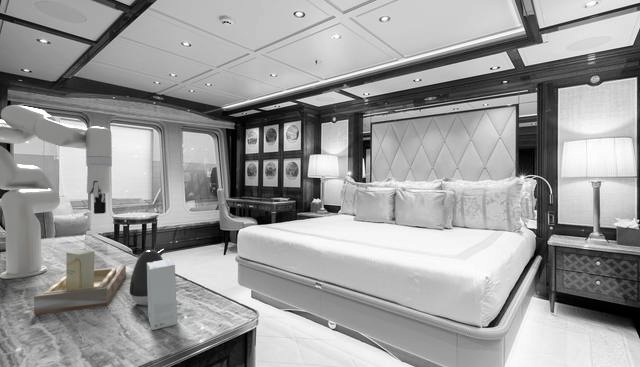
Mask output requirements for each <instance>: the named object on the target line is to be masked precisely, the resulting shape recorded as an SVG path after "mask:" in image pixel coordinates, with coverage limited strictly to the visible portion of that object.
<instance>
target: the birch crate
mask: <svg viewBox="0 0 640 367" xmlns="http://www.w3.org/2000/svg"><path fill="white" fill-rule="evenodd" d="M116 273H117V267H112V268H101V269H100V268H99V269H94V287H88V288H79V289H70V290H66V276H65V275H63V276H62V277H63V278H62V277H61V278H62V279H61V278H60V279H61V280H60V279H59V280H57V281H58V282H57V281H56V282H57V283H56V282H55V283H56V284H55V283H54V284H55V285H54V284H53V286H52V285H51V286H52V287H51V286H50V287H51V288H50V287H49V288H50V289H49V288H48V290H47V289H46V290H47V291H46V290H45V291H46V292H45V291H44V292H45V293H44V292H43V293H44V294H51V293H59V292H68V291H77V290H86V289H94V288H103V287H107V285H108V284H109V283H110V281H111V280H112V279H113V277H114V276H115V274H116Z"/></svg>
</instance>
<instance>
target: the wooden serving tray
mask: <svg viewBox="0 0 640 367" xmlns="http://www.w3.org/2000/svg"><path fill="white" fill-rule="evenodd" d="M126 268H127V267H126V264H122V265H121V266H120V268H119V269H118V271H116V274H115V276H114V277H113V279H112V280H111V281H110V283H109V284H108V285H107V287H103V288H94V289H86V290H77V291H68V292H59V293H51V294H44V293H45V292H46V291H47V290H48V289H50V288H51V287H52V286H53V285H55V284H56V283H57V282H58V281H59V280H61V279H62V278H63V277H64V276H66V274H65V275H64V276H62V277H61V278H60V279H59V280H57V281H56V282H55V283H54V284H53V285H51V286H50V287H49V288H48V289H46V290H45V291H44V292H43V293H40V294H36V295H34V297H33V308H34V309H33V313H34V316H40V315H48V314H55V313H56V314H57V313H63V312H71V311H78V310H84V309H93V308H94V309H95V308H100V307H107V306H108V305H109V303H110V302H111V300H112V299H113V297H114V296H115V293H116V292H117V290H118V288H119V287H120V286H121V284H122V283H123V281H124V279H125V278H126V276H127V274H126V271H127V269H126ZM119 285H120V286H119Z"/></svg>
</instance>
